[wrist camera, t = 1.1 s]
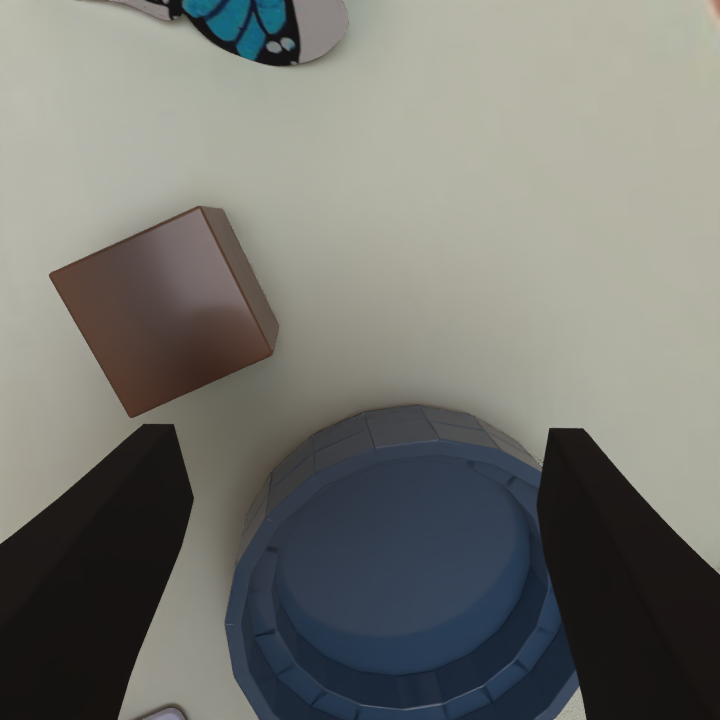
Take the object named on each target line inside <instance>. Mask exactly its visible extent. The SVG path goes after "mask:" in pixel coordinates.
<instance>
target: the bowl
mask: <svg viewBox="0 0 720 720" xmlns="http://www.w3.org/2000/svg"><path fill="white" fill-rule="evenodd" d="M542 468H543V467H542V466H541V465H540V464H539V463H538V462H537V461H536V460H535V459H534V458H533V457H532V456H531V455H530V454H529V453H528V452H527V451H526V450H525V449H524V448H523V447H522V446H521V445H520V443H519V442H518V441H516V440H515V439H513V438H512V437H510V436H508V435H506V434H504V433H503V432H501V431H499V430H497V429H495V428H494V427H492V426H490V425H488V424H486V423H485V422H483V421H481V420H479V419H477V418H476V417H474V416H471V415H469V414H463V413H458V412H452V411H447V410H442V409H436V408H431V407H426V406H418V405H417V406H408V407H400V408H392V409H384V410H376V411H368V412H364V413H361V414H359V415H356V416H354V417H352V418H350V419H347V420H345V421H343V422H341V423H338V424H336V425H334V426H332V427H330V428H327V429H325V430H323V431H321V432H318V433H316V434H314V435H313V436H311V437H310V438H309V439H308V440H307V441H305V442H304V443H303V444H302V445H301V446H300V447H299V448H297V449H296V450H295V451H294V452H293V453H292V454H291V455H290V456H288V457H287V458H286V459H285V460H284V461H283V462H282V463H280V464H279V465H278V466H277V467H276V468H275V469H274V470H273V471H272V472H271V473H270V475H269V476H268V478H267V480H266V481H265V483H264V485H263V487H262V488H261V490H260V492H259V493H258V495H257V497H256V499H255V500H254V502H253V504H252V505H251V507H250V509H249V510H248V512H247V514H246V517H245V520H244V525H243V530H242V535H241V540H240V545H239V550H238V555H237V560H236V565H235V570H234V575H233V581H232V586H231V591H230V596H229V601H228V606H227V612H226V617H225V630H226V635H227V641H228V647H229V653H230V658H231V664H232V670H233V675H234V678H235V679H236V681H237V683H238V684H239V686H240V688H241V690H242V691H243V693H244V695H245V696H246V698H247V700H248V701H249V703H250V705H251V706H252V708H253V710H254V711H255V713H256V715H257V716H258V718H259V720H553V719H554V718H556V717H557V716H558V715H559V714H560V712H561V711H562V709H563V708H564V707H565V705H566V704H567V703H568V701H569V700H570V698H571V697H572V696H573V694H574V693H575V692H576V690H577V689H578V687H579V686H580V685H579V681H578V676H577V672H576V668H575V665H574V661H573V658H572V654H571V651H570V647H569V644H568V640H567V637H566V633H565V630H564V626H563V623H562V619H561V615H560V612H559V608H558V605H557V601H556V598H555V594H554V591H553V587H552V583H551V580H550V576H549V573H548V569H547V565H546V562H545V558H544V553H543V547H542V541H541V535H540V528H539V521H538V514H537V508H536V503H537V498H538V492H539V486H540V480H541V474H542Z"/></svg>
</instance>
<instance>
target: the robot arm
mask: <svg viewBox="0 0 720 720" xmlns="http://www.w3.org/2000/svg"><path fill="white" fill-rule="evenodd" d="M193 500H194V496H193V493H192V489H191V485H190V482H189V478H188V474H187V471H186V467H185V463H184V460H183V456H182V452H181V449H180V445H179V442H178V438H177V434H176V431H175V427H174V424H143V425H142V426H141V427H139V428H138V429H137V430H136V431H135V432H133V433H132V434H131V435H130V436H129V437H128V438H127V439H125V440H124V441H123V442H122V443H121V444H120V445H119V446H117V447H116V448H115V449H114V450H113V451H112V452H111V453H110V454H109V455H107V456H106V457H105V458H104V459H103V460H102V461H101V462H100V463H98V464H97V465H96V466H95V467H94V468H93V469H92V470H90V471H89V472H88V473H87V474H86V475H85V476H84V477H82V478H81V479H80V480H79V481H78V482H77V483H76V484H74V485H73V486H72V487H71V488H70V489H69V490H67V491H66V492H65V493H64V494H63V495H62V496H60V497H59V498H58V499H57V500H56V501H54V502H53V503H52V504H51V505H49V506H48V507H47V508H46V509H44V510H43V511H42V512H41V513H39V514H38V515H37V516H36V517H34V518H33V519H32V520H31V521H29V522H28V523H27V524H26V525H24V526H23V527H22V528H21V529H19V530H18V531H17V532H16V533H14V534H13V535H12V536H10V537H9V538H8V539H6V540H5V541H4V542H2V543H1V544H0V720H117V719H118V716H119V712H120V709H121V706H122V702H123V699H124V696H125V692H126V689H127V685H128V682H129V679H130V676H131V673H132V670H133V668H134V665H135V662H136V659H137V656H138V654H139V651H140V649H141V646H142V644H143V641H144V639H145V636H146V634H147V631H148V629H149V626H150V624H151V622H152V619H153V617H154V614H155V612H156V609H157V607H158V604H159V602H160V599H161V597H162V595H163V592H164V590H165V587H166V585H167V582H168V580H169V577H170V575H171V572H172V570H173V567H174V565H175V562H176V560H177V557H178V554H179V552H180V549H181V547H182V543H183V540H184V536H185V532H186V529H187V525H188V521H189V517H190V513H191V509H192V505H193ZM536 508H537V514H538V521H539V528H540V535H541V541H542V547H543V553H544V558H545V562H546V565H547V569H548V573H549V576H550V580H551V583H552V587H553V591H554V594H555V598H556V601H557V605H558V608H559V612H560V615H561V619H562V623H563V626H564V630H565V633H566V637H567V640H568V644H569V647H570V651H571V654H572V658H573V661H574V665H575V668H576V672H577V676H578V681H579V685H580V689H581V693H582V697H583V703H584V708H585V714H586V719H587V720H720V574H719V573H717V572H716V571H715V570H714V569H713V568H712V567H711V566H710V565H709V564H708V563H707V562H705V561H704V560H703V559H702V558H701V557H700V556H699V555H698V554H697V553H696V552H695V551H694V550H693V549H692V548H691V547H690V546H689V545H688V544H687V543H686V542H685V541H684V540H683V539H682V538H681V537H680V536H679V535H678V534H677V533H676V532H675V531H674V530H673V529H672V528H671V527H670V526H669V525H668V524H667V523H666V522H665V521H664V520H663V519H662V518H661V517H660V515H659V514H658V513H657V512H656V511H655V510H654V509H653V508H652V507H651V506H650V505H649V504H648V503H647V501H646V500H645V499H644V498H643V497H642V496H641V495H640V494H639V493H638V492H637V491H636V489H635V488H634V487H633V486H632V485H631V484H630V483H629V481H628V480H627V479H626V478H625V477H624V476H623V475H622V473H621V472H620V471H619V470H618V469H617V468H616V466H615V465H614V464H613V463H612V462H611V461H610V459H609V458H608V457H607V456H606V455H605V453H604V452H603V451H602V450H601V449H600V447H599V446H598V445H597V444H596V443H595V441H594V440H593V439H592V438H591V437H590V435H589V434H588V433H587V432H586V431H585V430H584V429H583V428H549V434H548V439H547V445H546V451H545V457H544V463H543V468H542V474H541V480H540V486H539V492H538V498H537V503H536ZM142 720H185V718H184V716H183V715H182V713H181V712H180V711H179V710H177V709H175V708H167V709H164V710H162V711H160V712H158V713H155V714H153V715H151V716H149V717H146V718H144V719H142Z"/></svg>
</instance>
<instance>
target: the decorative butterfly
mask: <svg viewBox="0 0 720 720" xmlns="http://www.w3.org/2000/svg"><path fill="white" fill-rule="evenodd" d="M108 1H115V2H120V3H124V4H127V5H130V6H132V7H135V8H137V9H140V10H142V11H145V12H147V13H149V14H151V15H153V16H155V17H158V18H160V19H163V20H168V21H170V20H175V19H178V18H179V17H180V16H181V15H182V14H185V15H186V16H187V17H188V18H189V19H190V21H191V22H192V23H193V24H194V26H195V27H196V28H197V29H198V30H199V31H200V32H201V33H202V34H203V35H205V36H206V37H207V38H208V39H209V40H210V41H212V42H213V43H215V44H216V45H218V46H219V47H221V48H223V49H225V50H227V51H229V52H231V53H234V54H236V55H239V56H241V57H244V58H247V59H250V60H252V61H256V62H259V63H263V64H267V65H273V66H288V65H295V64H300V63H303V62H307V61H311V60H313V59H316V58H318V57H320V56H322V55H324V54H325V53H326V52H327V51H329V50H330V49H331V48H332V47H333V46H334V45H336V44H337V43H338V42H339V41H340V40H341V39H342V37H343V36H344V35H345V33H346V30H347V28H348V25H349V20H348V11H347V9H346V7H345V5H344V2H343V0H108Z"/></svg>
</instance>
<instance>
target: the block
mask: <svg viewBox="0 0 720 720" xmlns="http://www.w3.org/2000/svg"><path fill="white" fill-rule="evenodd" d="M49 277H50V279H51V281H52V283H53V284H54V286H55V288H56V290H57V291H58V293H59V295H60V297H61V298H62V300H63V302H64V304H65V305H66V307H67V309H68V311H69V312H70V314H71V316H72V318H73V319H74V321H75V323H76V325H77V326H78V328H79V330H80V332H81V333H82V335H83V337H84V339H85V340H86V342H87V344H88V346H89V347H90V349H91V351H92V353H93V354H94V356H95V358H96V360H97V361H98V363H99V365H100V367H101V368H102V370H103V372H104V374H105V375H106V377H107V379H108V381H109V382H110V384H111V386H112V388H113V389H114V391H115V393H116V395H117V396H118V398H119V400H120V402H121V403H122V405H123V407H124V409H125V410H126V412H127V414H128V416H129V417H130V418H134V417H136V416H138V415H140V414H143V413H145V412H147V411H149V410H152V409H154V408H156V407H158V406H160V405H163V404H165V403H167V402H169V401H172V400H174V399H176V398H178V397H180V396H183V395H185V394H187V393H189V392H192V391H194V390H196V389H198V388H201V387H203V386H205V385H207V384H209V383H212V382H214V381H216V380H218V379H221V378H223V377H225V376H227V375H229V374H232V373H234V372H236V371H238V370H241V369H243V368H245V367H247V366H249V365H252V364H254V363H256V362H258V361H261V360H263V359H265V358H267V357H270V356H271V355H272V354H273V351H274V347H275V343H276V338H277V334H278V330H279V325H278V323H277V321H276V318H275V316H274V314H273V312H272V310H271V308H270V306H269V304H268V302H267V300H266V298H265V296H264V294H263V291H262V289H261V287H260V285H259V283H258V281H257V279H256V277H255V275H254V273H253V271H252V269H251V266H250V264H249V262H248V260H247V258H246V256H245V254H244V252H243V250H242V248H241V246H240V244H239V242H238V239H237V237H236V235H235V233H234V231H233V229H232V227H231V225H230V223H229V221H228V219H227V217H226V215H225V212H224V210H223V209H220V208H212V207H204V206H197V207H195V208H192V209H190V210H188V211H186V212H184V213H181V214H179V215H177V216H175V217H173V218H170V219H168V220H166V221H164V222H162V223H159V224H157V225H155V226H153V227H150V228H148V229H146V230H144V231H142V232H139V233H137V234H135V235H133V236H131V237H128V238H126V239H124V240H122V241H120V242H117V243H115V244H113V245H111V246H109V247H106V248H104V249H102V250H100V251H97V252H95V253H93V254H91V255H89V256H86V257H84V258H82V259H80V260H78V261H75V262H73V263H71V264H69V265H67V266H64V267H62V268H60V269H58V270H56V271H53V272H51V273H50V274H49Z"/></svg>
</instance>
